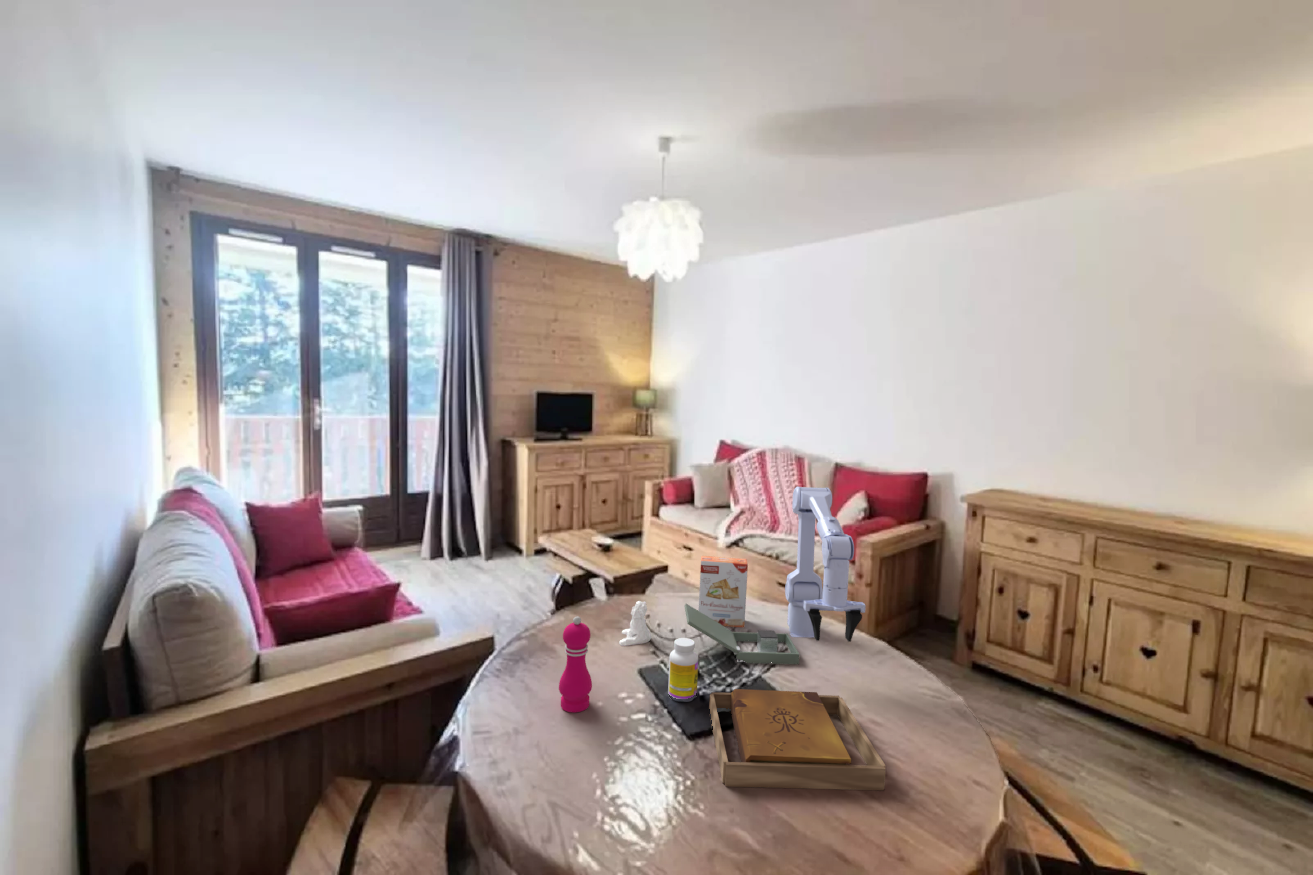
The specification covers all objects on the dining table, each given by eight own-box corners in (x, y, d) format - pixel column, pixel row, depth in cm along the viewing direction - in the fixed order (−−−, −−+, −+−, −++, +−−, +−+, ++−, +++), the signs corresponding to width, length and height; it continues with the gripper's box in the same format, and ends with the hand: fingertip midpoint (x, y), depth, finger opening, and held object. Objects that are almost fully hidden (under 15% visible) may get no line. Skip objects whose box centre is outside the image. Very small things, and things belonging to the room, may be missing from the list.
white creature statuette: (621, 635, 165) (623, 594, 164) (651, 636, 164) (653, 595, 163) (618, 649, 155) (619, 606, 154) (650, 650, 155) (651, 607, 154)
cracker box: (697, 629, 170) (700, 560, 169) (698, 621, 176) (700, 554, 175) (744, 633, 169) (748, 563, 167) (744, 625, 175) (747, 557, 173)
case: (683, 642, 160) (684, 603, 160) (786, 645, 161) (788, 606, 160) (685, 664, 147) (687, 621, 147) (798, 667, 148) (800, 624, 147)
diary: (730, 714, 126) (731, 688, 125) (815, 717, 125) (816, 692, 125) (744, 784, 103) (746, 753, 102) (849, 788, 102) (851, 758, 102)
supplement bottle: (698, 704, 128) (700, 648, 127) (668, 703, 128) (670, 647, 127) (695, 689, 135) (697, 636, 134) (667, 688, 135) (669, 635, 134)
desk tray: (708, 709, 126) (709, 692, 126) (839, 713, 126) (840, 695, 126) (723, 786, 101) (724, 764, 101) (886, 790, 102) (887, 768, 101)
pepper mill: (585, 716, 122) (587, 624, 121) (553, 711, 123) (555, 621, 122) (595, 699, 129) (598, 612, 128) (565, 694, 130) (567, 609, 129)
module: (756, 649, 156) (757, 630, 156) (773, 650, 156) (774, 630, 156) (759, 657, 152) (760, 636, 152) (776, 657, 152) (777, 637, 152)
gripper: (810, 589, 135) (807, 645, 135) (871, 591, 135) (868, 647, 136) (802, 580, 142) (799, 633, 143) (860, 581, 142) (857, 635, 143)
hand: (832, 639), depth 140 cm, fingers open, 7 cm apart
